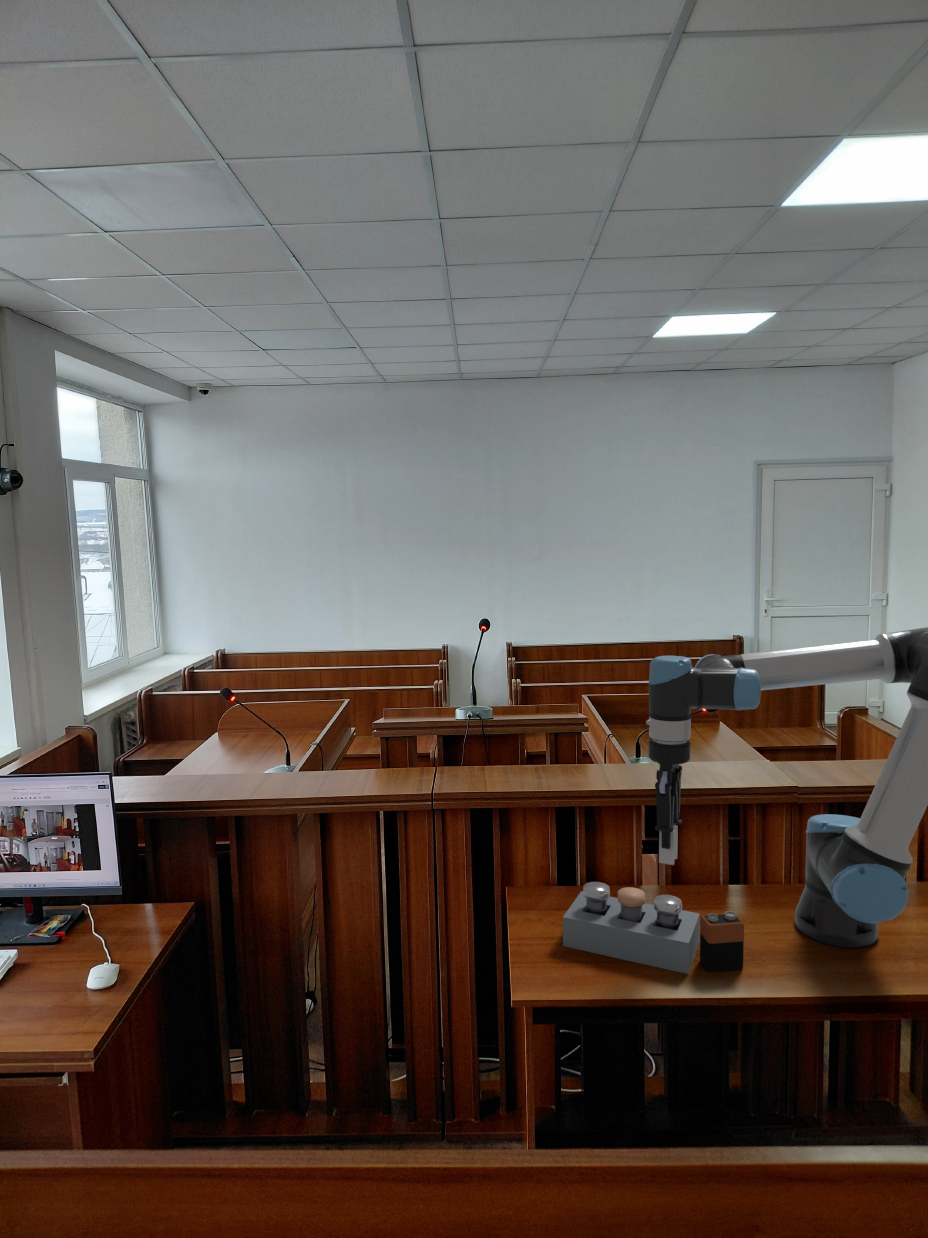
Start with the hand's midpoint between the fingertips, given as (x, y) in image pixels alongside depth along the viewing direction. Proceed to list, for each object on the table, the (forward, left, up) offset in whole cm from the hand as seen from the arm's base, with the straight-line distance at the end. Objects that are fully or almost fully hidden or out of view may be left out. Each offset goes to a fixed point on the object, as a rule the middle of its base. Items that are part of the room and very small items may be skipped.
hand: (668, 860), depth 147 cm
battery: (-10, 0, -19) cm, 21 cm away
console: (+7, 0, -18) cm, 20 cm away
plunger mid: (+7, 0, -14) cm, 16 cm away
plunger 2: (0, 0, -15) cm, 15 cm away
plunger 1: (+14, 0, -15) cm, 20 cm away
